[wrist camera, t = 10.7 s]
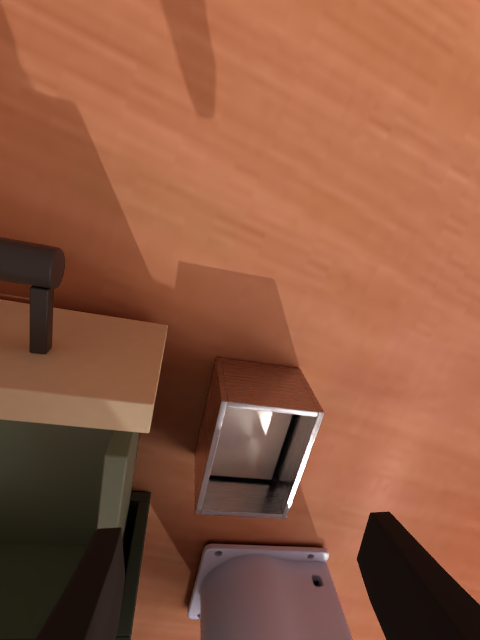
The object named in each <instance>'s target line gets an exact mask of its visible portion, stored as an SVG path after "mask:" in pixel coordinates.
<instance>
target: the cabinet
mask: <svg viewBox="0 0 480 640" xmlns="http://www.w3.org/2000/svg"><path fill="white" fill-rule="evenodd" d="M150 497H151V493H148V492H132V491H131V496H130V503H129V510H128V516H127V523H126V530H125V537H124V544H123V554H124V567H125V582H124V590H123V597H122V605H121V612H120V619H119V625H118V630H117V634H116V639H115V640H131V634H132V626H133V619H134V612H135V605H136V598H137V590H138V583H139V576H140V569H141V562H142V554H143V547H144V540H145V533H146V526H147V518H148V511H149V504H150ZM34 639H35V638H25V639H0V640H34Z"/></svg>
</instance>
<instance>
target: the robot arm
mask: <svg viewBox="0 0 480 640" xmlns="http://www.w3.org/2000/svg"><path fill="white" fill-rule="evenodd" d="M328 557H329V553H328V551H327V549H326V548H317V547H290V546H263V545H236V544H208V545H206V546H205V547H204V550H203V554H202V558H201V561H200V565H199V569H198V573H197V577H196V580H195V584H194V588H193V592H192V596H191V600H190V603H189V607H188V617H189V618H190V619H200V628H201V640H353V639H352V636H351V633H350V630H349V627H348V624H347V621H346V619H345V616H344V613H343V610H342V607H341V604H340V601H339V598H338V595H337V592H336V589H335V586H334V583H333V581H332V578H331V575H330V572H329V569H328V566H327V563H326V562H327V559H328ZM357 561H358V564H359V568H360V571H361V574H362V578H363V581H364V584H365V587H366V590H367V593H368V596H369V599H370V602H371V604H372V607H373V609H374V611H375V614H376V616H377V618H378V621H379V623H380V626H381V628H382V630H383V633H384V635H385V637H386V640H480V605H479V604H478V603H477V602H476V601H475V600H474V599H473V598H472V597H471V596H470V595H469V594H468V593H467V592H466V591H465V590H464V589H463V588H462V587H461V586H460V585H459V584H458V583H457V582H456V581H455V580H454V579H453V578H452V577H451V576H450V575H449V574H448V573H447V572H446V571H445V570H444V569H443V568H442V567H441V566H440V565H439V564H438V563H437V561H436V560H435V559H434V558H433V557H432V556H431V555H430V554H429V553H428V552H427V551H426V550H425V549H424V548H423V547H422V546H421V545H420V544H419V543H418V542H417V540H416V539H415V538H414V537H413V536H412V535H411V534H410V533H409V532H408V531H407V530H406V529H405V528H404V527H403V526H402V525H401V524H400V522H399V521H398V520H397V519H396V518H395V517H394V516H393V515H392V514H391V513H390V512H375V513H370V515H369V519H368V522H367V526H366V529H365V533H364V536H363V539H362V543H361V546H360V550H359V553H358V557H357ZM124 582H125V567H124V554H123V541H122V528H121V527H117V528H100V529H97V530H96V531H95V532H94V533H93V535H92V537H91V540H90V542H89V544H88V546H87V548H86V550H85V552H84V554H83V556H82V558H81V560H80V562H79V564H78V565H77V567H76V569H75V571H74V573H73V575H72V576H71V578H70V580H69V582H68V584H67V586H66V587H65V589H64V591H63V593H62V594H61V596H60V598H59V599H58V601H57V603H56V605H55V606H54V608H53V610H52V611H51V613H50V615H49V616H48V618H47V620H46V622H45V623H44V625H43V627H42V628H41V630H40V631H39V633H38V635H37V636H36V638H35V639H34V640H115V639H116V634H117V630H118V625H119V619H120V612H121V605H122V597H123V590H124Z"/></svg>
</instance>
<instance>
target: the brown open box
mask: <svg viewBox="0 0 480 640" xmlns="http://www.w3.org/2000/svg"><path fill="white" fill-rule="evenodd" d="M323 416H324V411H323V409H322V407H321V406H320V404H319V402H318V400H317V398H316V397H315V395H314V393H313V391H312V389H311V388H310V386H309V384H308V382H307V380H306V378H305V377H304V375H303V373H302V371H301V369H299V368H292V367H285V366H278V365H271V364H263V363H256V362H249V361H242V360H235V359H227V358H220V357H216V360H215V365H214V369H213V374H212V378H211V383H210V388H209V392H208V397H207V401H206V406H205V411H204V415H203V420H202V424H201V429H200V433H199V438H198V443H197V447H196V452H195V514H205V515H224V516H244V517H263V518H282V519H286V518H287V515H288V512H289V510H290V507H291V504H292V501H293V498H294V496H295V493H296V490H297V487H298V485H299V482H300V479H301V476H302V474H303V471H304V468H305V465H306V463H307V460H308V457H309V454H310V452H311V449H312V446H313V443H314V441H315V438H316V435H317V432H318V429H319V427H320V424H321V421H322V418H323Z"/></svg>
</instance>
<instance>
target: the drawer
mask: <svg viewBox="0 0 480 640" xmlns="http://www.w3.org/2000/svg"><path fill="white" fill-rule="evenodd" d="M64 269H65V257H64V253H63V251H62V249H60V248H57V247H52V246H46V245H41V244H36V243H30V242H25V241H19V240H14V239H8V238H3V237H0V280H1V281H7V282H13V283H20V284H26V285H32V286H31V287H30V304H27V303H21V302H14V301H8V300H1V299H0V639H25V638H36V636H37V635H38V633H39V631H40V630H41V628H42V627H43V625H44V623H45V622H46V620H47V618H48V616H49V615H50V613H51V611H52V610H53V608H54V606H55V605H56V603H57V601H58V599H59V598H60V596H61V594H62V593H63V591H64V589H65V587H66V586H67V584H68V582H69V580H70V578H71V576H72V575H73V573H74V571H75V569H76V567H77V565H78V564H79V562H80V560H81V558H82V556H83V554H84V552H85V550H86V548H87V546H88V544H89V542H90V540H91V537H92V535H93V533H94V532H95V531H96V530H97V529H100V528H117V527H121V528H122V541H123V544H124V537H125V530H126V523H127V516H128V510H129V503H130V496H131V489H132V482H133V475H134V469H135V462H136V455H137V448H138V441H139V434H140V433H149V432H150V427H151V421H152V415H153V410H154V404H155V399H156V393H157V387H158V382H159V376H160V370H161V365H162V359H163V354H164V348H165V342H166V336H167V330H168V325H164V324H157V323H151V322H144V321H138V320H131V319H125V318H118V317H112V316H105V315H99V314H92V313H86V312H79V311H73V310H66V309H60V308H53V303H54V289H55V288H57V287H58V286H59V285H60V283H61V281H62V278H63V275H64Z"/></svg>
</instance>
